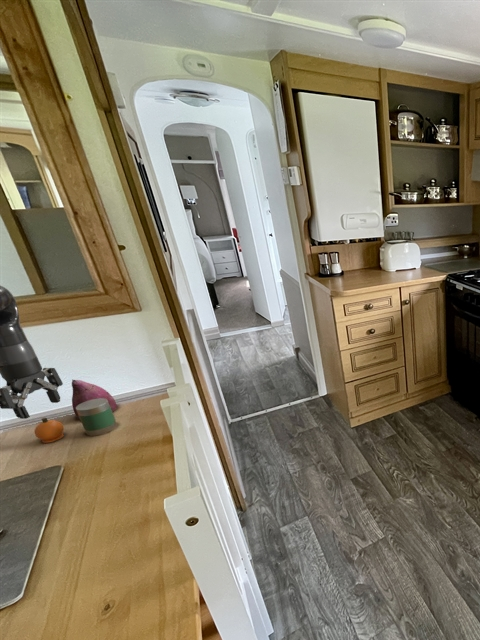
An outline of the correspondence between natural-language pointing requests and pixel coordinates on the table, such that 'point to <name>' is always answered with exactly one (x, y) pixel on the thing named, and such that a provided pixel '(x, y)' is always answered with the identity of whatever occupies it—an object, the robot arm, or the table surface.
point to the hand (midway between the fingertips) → (40, 409)
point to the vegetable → (89, 394)
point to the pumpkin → (49, 430)
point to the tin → (96, 416)
